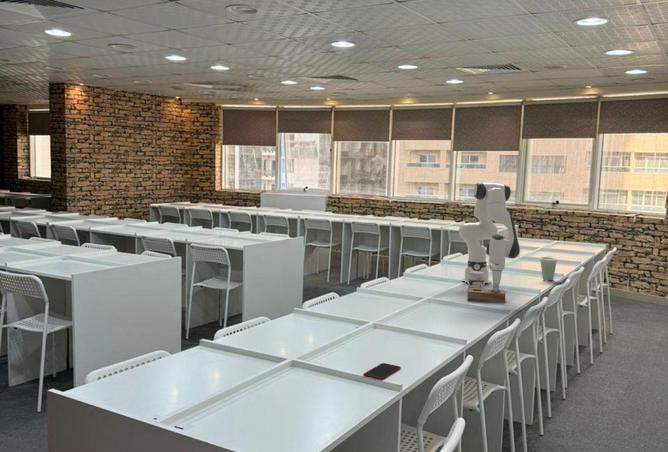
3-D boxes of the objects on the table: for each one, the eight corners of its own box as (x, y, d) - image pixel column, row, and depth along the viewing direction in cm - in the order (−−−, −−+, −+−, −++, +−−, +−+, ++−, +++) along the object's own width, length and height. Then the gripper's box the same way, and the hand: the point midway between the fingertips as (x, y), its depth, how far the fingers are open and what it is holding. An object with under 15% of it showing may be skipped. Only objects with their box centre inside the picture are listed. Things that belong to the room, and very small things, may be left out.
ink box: (467, 291, 342) (468, 271, 340) (469, 289, 346) (470, 270, 345) (481, 292, 338) (482, 273, 336) (483, 291, 342) (484, 271, 341)
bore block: (468, 296, 327) (468, 287, 327) (504, 298, 322) (504, 289, 322) (467, 300, 316) (467, 291, 315) (505, 303, 311) (505, 294, 310)
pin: (492, 297, 320) (493, 283, 319) (498, 297, 319) (498, 283, 318) (492, 298, 317) (493, 284, 316) (498, 299, 316) (498, 284, 315)
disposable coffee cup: (559, 281, 378) (560, 258, 377) (546, 282, 374) (547, 259, 373) (548, 278, 388) (549, 256, 387) (535, 279, 384) (536, 257, 383)
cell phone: (362, 376, 196) (362, 374, 196) (382, 365, 208) (382, 362, 208) (382, 381, 192) (382, 378, 192) (401, 369, 204) (401, 366, 204)
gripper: (490, 261, 327) (489, 285, 328) (491, 267, 307) (490, 292, 308) (502, 262, 325) (501, 286, 326) (503, 267, 305) (502, 293, 307)
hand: (495, 289), depth 317 cm, fingers open, 7 cm apart
